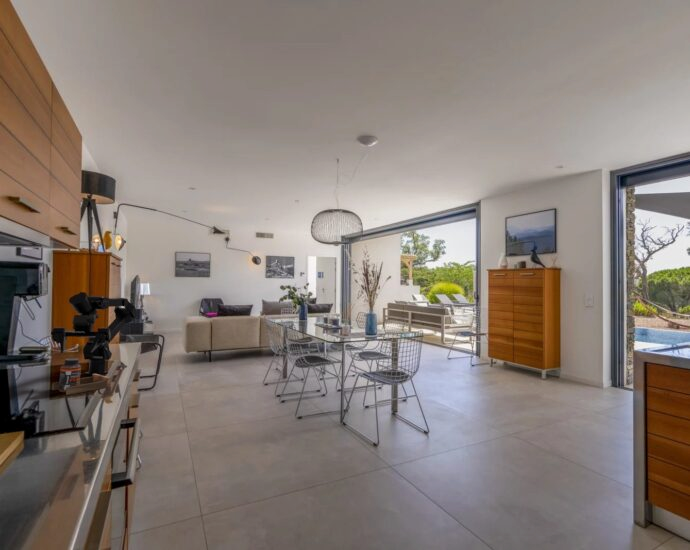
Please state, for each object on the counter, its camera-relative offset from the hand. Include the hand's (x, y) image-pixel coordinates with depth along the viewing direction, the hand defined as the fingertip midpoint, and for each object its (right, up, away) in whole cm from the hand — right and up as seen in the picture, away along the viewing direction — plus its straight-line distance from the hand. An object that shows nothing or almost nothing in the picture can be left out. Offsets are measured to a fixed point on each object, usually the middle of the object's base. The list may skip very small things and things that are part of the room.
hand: (76, 352), depth 138 cm
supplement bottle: (+2, -13, -7) cm, 14 cm away
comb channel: (+4, -13, -3) cm, 14 cm away
